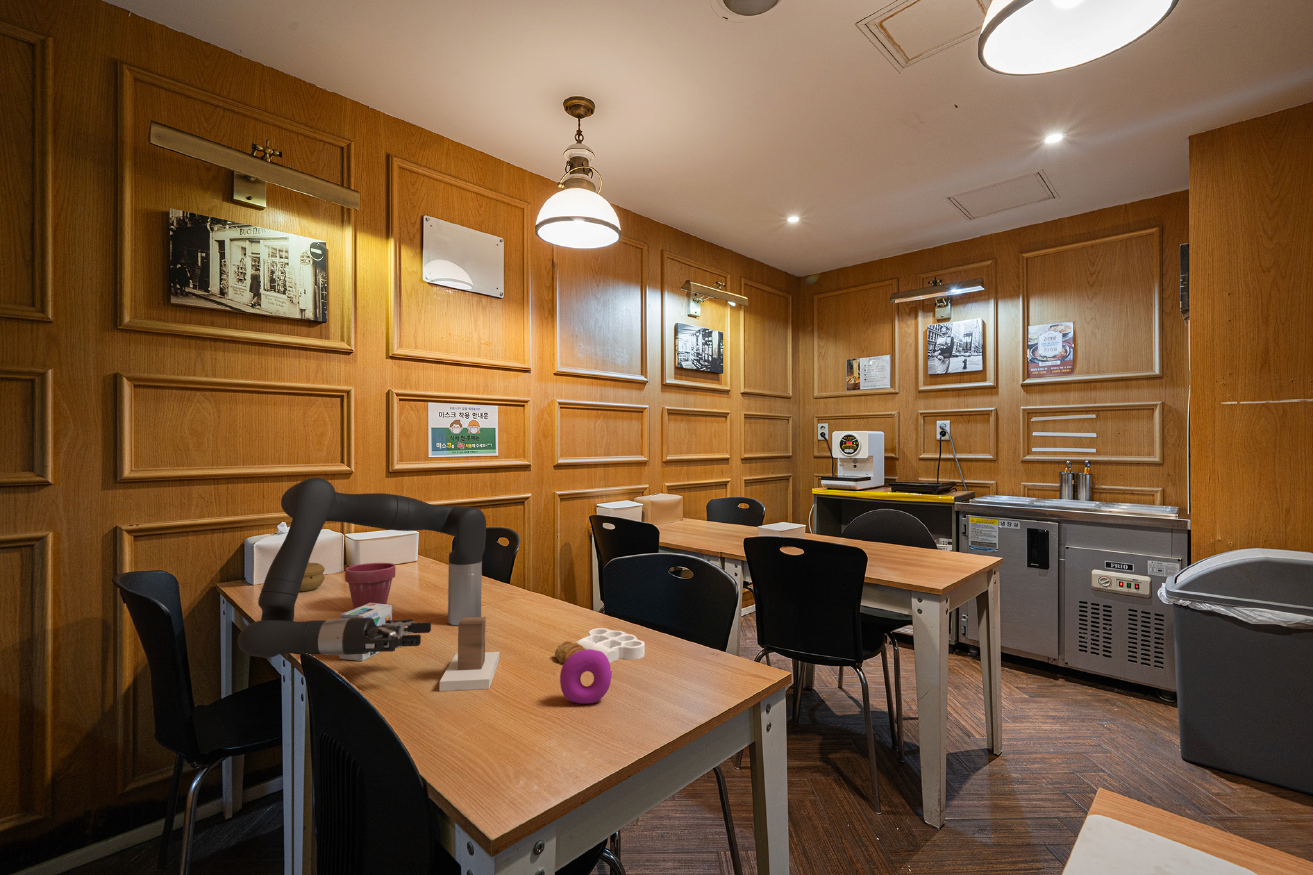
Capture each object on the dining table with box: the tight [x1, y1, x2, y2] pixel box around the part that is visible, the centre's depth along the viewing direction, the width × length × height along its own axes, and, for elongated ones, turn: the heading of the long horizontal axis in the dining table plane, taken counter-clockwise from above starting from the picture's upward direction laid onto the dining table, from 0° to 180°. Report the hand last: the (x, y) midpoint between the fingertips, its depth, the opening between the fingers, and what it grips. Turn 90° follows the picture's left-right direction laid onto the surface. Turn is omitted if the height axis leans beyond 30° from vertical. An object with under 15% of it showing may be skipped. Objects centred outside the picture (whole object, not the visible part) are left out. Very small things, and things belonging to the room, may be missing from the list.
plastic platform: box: [439, 651, 500, 692], centre depth 125 cm, size 16×10×2 cm, turn 8°
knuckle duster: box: [575, 627, 646, 664], centre depth 141 cm, size 3×18×15 cm
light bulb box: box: [339, 603, 393, 662], centre depth 138 cm, size 11×7×11 cm, turn 168°
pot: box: [299, 561, 326, 592], centre depth 197 cm, size 12×12×10 cm
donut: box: [559, 649, 613, 704], centre depth 113 cm, size 8×9×10 cm
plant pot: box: [344, 562, 396, 609], centre depth 177 cm, size 14×14×13 cm
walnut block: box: [457, 616, 486, 670], centre depth 126 cm, size 5×5×10 cm
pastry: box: [554, 640, 586, 665], centre depth 134 cm, size 9×7×4 cm
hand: (425, 633), depth 124 cm, fingers open, 8 cm apart
